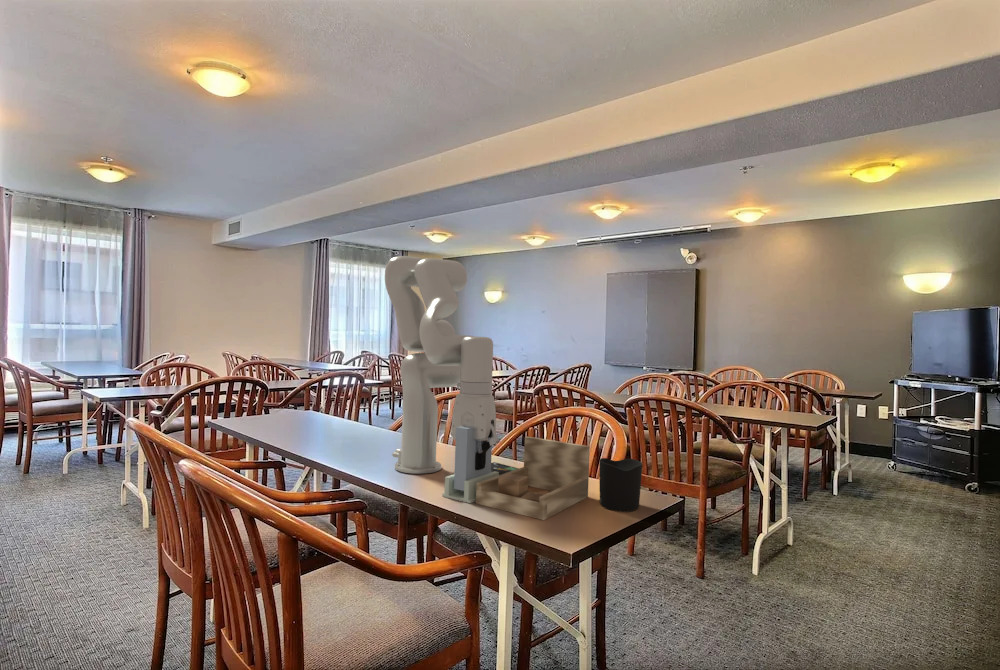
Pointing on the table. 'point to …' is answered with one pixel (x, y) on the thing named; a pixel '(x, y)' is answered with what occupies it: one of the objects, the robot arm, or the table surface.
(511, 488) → the offcut
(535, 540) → the table surface
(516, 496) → the offcut
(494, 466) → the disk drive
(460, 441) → the blue-grey flat block
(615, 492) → the pen holder
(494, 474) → the stand
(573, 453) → the tray
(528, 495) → the offcut
